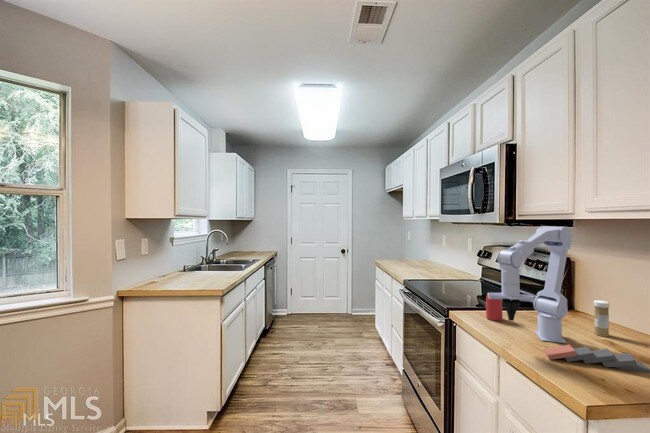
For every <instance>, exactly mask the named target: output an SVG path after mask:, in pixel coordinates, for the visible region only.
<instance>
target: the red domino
mask: <svg viewBox="0 0 650 433" xmlns="http://www.w3.org/2000/svg"><path fill="white" fill-rule="evenodd" d="M543 352H544V354H545V355H546V357H547V358H548V359H549V361H552V360H558V359H559V360H560V359H564V358H565V357H571V356H577V354H576V352H575V350H574V347H572V346H571V344H565V345H560V346H554V347H549V348H547V347H546V348H544V349H543Z"/></svg>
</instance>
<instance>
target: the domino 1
mask: <svg viewBox="0 0 650 433" xmlns="http://www.w3.org/2000/svg"><path fill="white" fill-rule="evenodd" d="M573 349H574V350H575V352H576V354H577V356H571V357H565V358H563V359H564V361H566V363H569V362H576V361H583V359H589V358H595V356H594V353H593V352H592V351H593V350H591V349H590V348H589V347H588V346H580V347H576V348H574V347H573Z"/></svg>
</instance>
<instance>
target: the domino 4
mask: <svg viewBox="0 0 650 433" xmlns="http://www.w3.org/2000/svg"><path fill="white" fill-rule="evenodd" d="M636 363H637V365H638V366H621V367H615V369H618V370H626V371H633V372H639V373H640V372H641V373H647V374H650V368H649V367H648V366H647V365H645V364H644V363H643V362H642V361H636Z"/></svg>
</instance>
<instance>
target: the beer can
mask: <svg viewBox="0 0 650 433" xmlns="http://www.w3.org/2000/svg"><path fill="white" fill-rule="evenodd" d="M488 293H498V292H495V291H488V292H487V294H486V297H485V303H486V304H485V311H486V313H485V315H486V316H485V317H486V318H487V319H488V320H489V321H492V322H493V321H494V322H500V321H502V320H503V301H502V300H501V299H489V298H488Z"/></svg>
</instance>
